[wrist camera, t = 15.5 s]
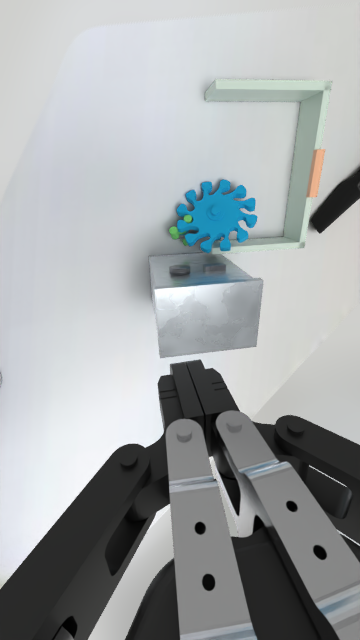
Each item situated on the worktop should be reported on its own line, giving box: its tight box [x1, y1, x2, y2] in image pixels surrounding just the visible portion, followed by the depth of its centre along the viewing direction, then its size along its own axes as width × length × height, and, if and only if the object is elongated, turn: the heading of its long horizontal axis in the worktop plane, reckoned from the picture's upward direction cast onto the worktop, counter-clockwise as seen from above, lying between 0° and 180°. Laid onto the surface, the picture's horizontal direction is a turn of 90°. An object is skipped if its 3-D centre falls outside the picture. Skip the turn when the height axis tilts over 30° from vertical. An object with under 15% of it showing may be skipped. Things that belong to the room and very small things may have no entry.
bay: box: [205, 79, 332, 254], centre depth 34 cm, size 13×18×5 cm
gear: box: [169, 179, 257, 253], centre depth 36 cm, size 11×6×10 cm
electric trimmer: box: [311, 171, 360, 233], centre depth 38 cm, size 4×16×3 cm, turn 136°
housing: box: [149, 252, 263, 358], centre depth 34 cm, size 11×8×15 cm
